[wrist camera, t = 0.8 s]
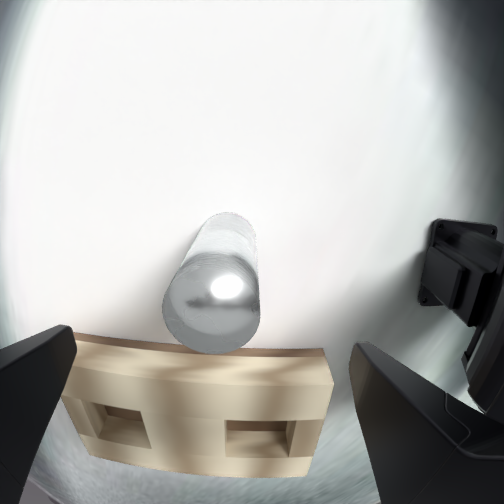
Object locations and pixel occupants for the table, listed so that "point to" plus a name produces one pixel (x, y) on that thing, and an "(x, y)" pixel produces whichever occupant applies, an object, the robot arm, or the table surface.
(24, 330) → the table surface
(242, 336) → the pin
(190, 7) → the table surface
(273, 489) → the table surface
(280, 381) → the bore block
